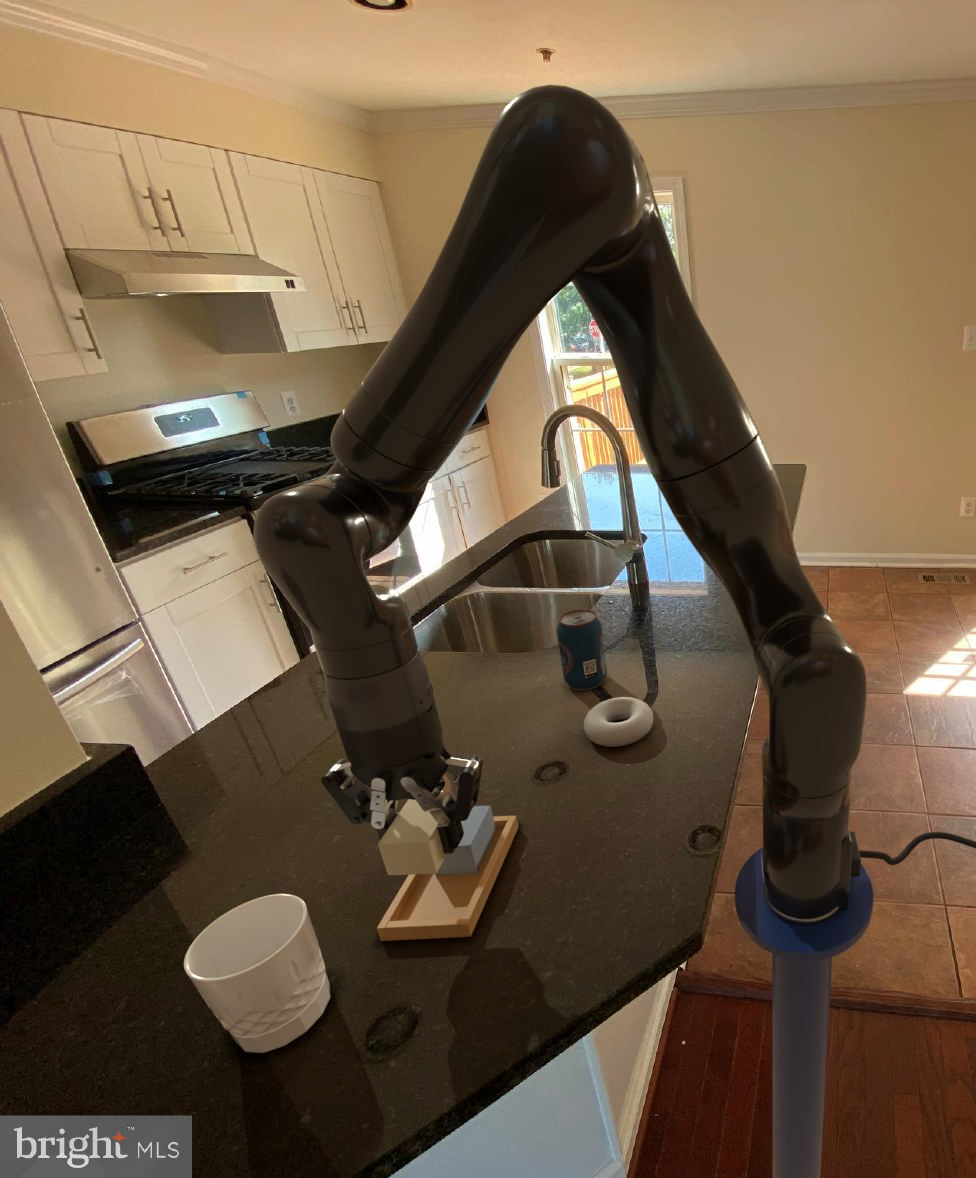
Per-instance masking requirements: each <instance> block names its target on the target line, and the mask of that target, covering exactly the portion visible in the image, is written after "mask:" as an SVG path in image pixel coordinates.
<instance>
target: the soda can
mask: <svg viewBox="0 0 976 1178" xmlns="http://www.w3.org/2000/svg"><path fill="white" fill-rule="evenodd" d="M556 636H557V643H558V648H559V649H558V650H559V655H560V661H561V662H560V663H561V669H562V675H563V679H564V682H565V683H566V684H567V685H568V686H569V687H570V688H571V689H573V690H575V691H589V690H593V689H595V688H598V687H599V686H601V685H602V684H603V683H604V681H605V679H606V677H607V675H608V674H607V673H608V667H607V660H606V659H607V658H606V652H605V651H606V650H605V642H604V635H603V627H602V622H601V620H600V619H599V618H598V616H597V613H596V612H595V611H593V610H590V609H573V610H570V611H567V612H564V613H562V614H561V615H560V616H559V618H558V624H557V626H556Z"/></svg>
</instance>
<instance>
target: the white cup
mask: <svg viewBox="0 0 976 1178" xmlns="http://www.w3.org/2000/svg"><path fill="white" fill-rule="evenodd" d="M321 951H322V950H321V948H320V943H319V940H318V938H317V934H316V932H315V929H314V926H313V922H312V920H311V917H310V913H309V911H308V907H307V905H306V902H305V900H303V899H302V898H300V897H299V896H297V895H294V894H289V893H275V894H274V893H273V894H269V895H264V896H261V897H257V898H254V899H252V900H249V901H246V902H243V903H242V904H240V905H238V906H236V907H234V908H232V909H231V910H228V911H227V912H226V913H223V914H222V915H220V916H219V917H217V918H216V919H215V920H214V921H212V922H211V923H210V924H209V925H208V926H206V927H205V928H204V929H202V931H201V932H200V933H199V934H198V935H197V936H196V938H195V939H194V940H193V941H192V943H191V944H190V946H189V947H188V949H187V951H186V953H185V955H184V960H183V968H184V972H185V974H186V975H187V977H188V978H189V979H190V981H191V982H192V984H193V986H194V987H195V988H196V990H197V992H198V993H199V994H200V996H201V998H202V999H203V1001H204V1002H205V1004H206V1005H207V1006H208V1008H209V1010H211V1011H212V1013H213V1015H214V1016H215V1017H216V1019H217V1020H218V1021H219V1023H220V1024H221V1026H222V1027H223V1028H224V1030H225V1031H227V1032H229V1034H230V1035H231V1037H232V1038H233V1039H234V1041H235V1043H236V1045H238V1046H239V1047H240V1048H241V1049H242V1050H243V1051H244V1052H245V1053H258V1054H265V1053H267V1052H270V1051H273V1050H276V1049H279V1048H282V1047H285V1046H287V1045H288V1044H290V1043H291V1042H293V1041H295V1040H296V1039H297V1038H299V1037H301V1036H302V1035H304V1034H305V1033H306V1032H308V1031H309V1029H310V1028H312V1026H313V1025H314V1024H315V1023H316V1022H317V1021H318V1020H319V1019H320V1018H321V1017H322V1016H323V1014H324V1012H325V1010H326V1009H327V1008H326V1007H327V1006H328V1003H329V1002H330V1000H331V984H330V981H329V978H328V974H327V972H326V965H325V961H324V957H323V955H322V952H321Z"/></svg>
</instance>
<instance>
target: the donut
mask: <svg viewBox="0 0 976 1178" xmlns="http://www.w3.org/2000/svg"><path fill="white" fill-rule="evenodd" d="M620 720H623V721H620ZM615 721H619V722H615ZM653 724H654V713H653V709H651V707H650V706H649V705H648V704H647V703H646V702H645V701H643V700H641V699H638V698H635V697H632V696H631V697H630V696H619V697H618V696H617V697H612V698H609V699H606V700H603V701H601V702H599V703H597V704H595V706H593V707H592V708H591V709H589V711H588V712H587V713H586V715H585V718H584V720H583V731H584V733H585V736H586V737H587V738H588V739H589V740H590V741H591V742H593V743H594V744H596V745H598V746H602V747H603V746H604V747H606V748H607V747H608V748H618V747H625V746H629V745H630V744H633V743H637V742H638V741H640V740H641V739H643V738H644V737H645V736H646V735H647V734H648V733H649V732H650V730H651V729H652V727H653Z"/></svg>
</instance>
